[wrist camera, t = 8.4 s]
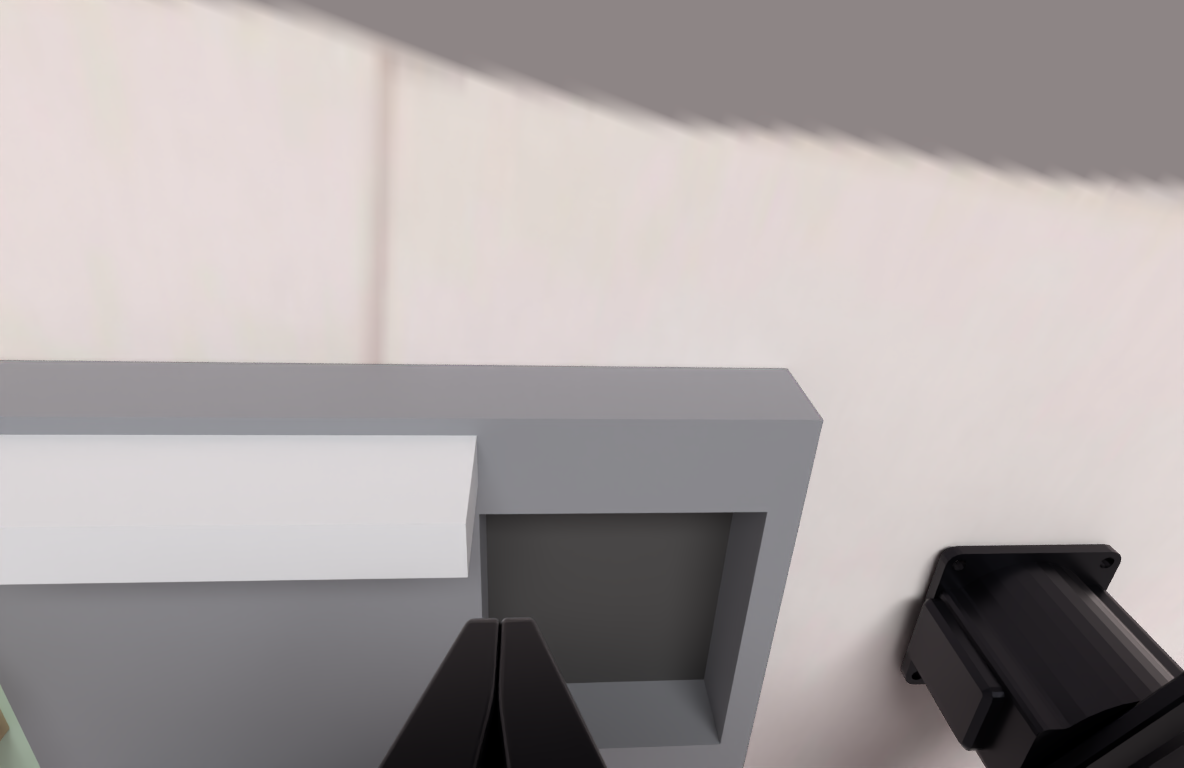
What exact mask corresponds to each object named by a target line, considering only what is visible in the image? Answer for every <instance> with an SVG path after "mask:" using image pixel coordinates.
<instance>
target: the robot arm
mask: <svg viewBox="0 0 1184 768" xmlns="http://www.w3.org/2000/svg"><path fill="white" fill-rule="evenodd" d="M957 560H958V561H957ZM955 561H956V562H955ZM1120 562H1121V556H1120V554H1119V553H1118V552H1116V551H1115V550H1114V549H1113V548H1112V547H1111V546H1110V545H1105V544H1097V545H1016V546H956V547H951V548H949V549H947V550H946V551H944V552H943V553H942V555H941V556H940V558H939V561H938V564H937V567H936V570H935V572H934V575H933V578H932V581H931V584H930V586H929V589H928V592H927V595H926V598H925V601H924V603H923V606H922V609H921V612H920V614H919V617H918V620H917V623H916V626H915V629H914V631H913V634H912V637H911V640H910V643H909V645H908V648H907V651H906V654H905V657H904V660H903V663H902V665H901V672H902V674H903V676H904V678H905V679H906V681H907V682H908V683H910V684H926V686H927V688H928V690H929V691H930V693H931V695H932V696H933V698H934V700H935V702H936V703H937V705H938V707H939V709H940V710H941V712H942V714H943V716H944V717H945V719H946V721H947V722H948V724H949V726H950V728H951V729H952V731H953V733H954V735H955V736H956V738H957V740H958V742H959V743H960V744H961V745H962V746H963V747H964V748H965V749H966V750H968V751H972V750H976V752H977V754H978V755H979V757H980V759H981V760H982V762H983V764H984V765H985V767H986V768H1184V670H1183V669H1182V668H1181V667H1180V666H1179V665H1178V664H1177V663H1176V662H1175V661H1174V660H1173V659H1172V658H1171V657H1170V656H1169V655H1168V654H1167V653H1166V652H1165V651H1164V650H1163V649H1162V648H1161V647H1160V646H1159V645H1158V644H1157V643H1156V642H1155V641H1154V640H1153V639H1152V638H1151V637H1150V636H1149V634H1148V633H1147V632H1146V631H1145V630H1144V629H1143V628H1142V627H1141V626H1140V625H1139V624H1138V623H1137V622H1136V621H1135V620H1134V619H1133V618H1132V617H1131V616H1130V615H1129V614H1128V613H1127V612H1126V611H1125V610H1124V609H1123V608H1122V607H1121V606H1120V605H1119V604H1118V603H1117V602H1116V601H1115V600H1114V599H1113V598H1112V597H1111V596H1110V594H1109V593H1108V592H1107V591H1106V590H1107V588H1108V586H1109V584H1110V582H1111V580H1112V578H1113V576H1114V574H1115V572H1116V570H1117V568H1118V566H1119V564H1120ZM377 768H608V767H607V765H606V763H605V761H604V759H603V757H602V755H601V753H600V751H599V749H598V747H597V745H596V743H595V741H594V739H593V737H592V735H591V733H590V731H589V729H588V727H587V725H586V723H585V721H584V719H583V717H582V715H581V713H580V711H579V709H578V707H577V705H576V703H575V701H574V699H573V697H572V695H571V693H570V690H569V688H568V686H567V684H566V682H565V680H564V678H563V676H562V674H561V672H560V670H559V668H558V666H557V664H556V662H555V660H554V658H553V656H552V654H551V652H550V650H549V648H548V646H547V644H546V642H545V640H544V638H543V636H542V634H541V632H540V630H539V628H538V626H537V624H536V622H535V621H534V619H532V618H531V617H513V618H504V619H503V620H502V622H501V623H500V621H499V619H497V618H472V619H470V620H468V621H467V622H466V623H465V625H464V626H463V628H462V629H461V631H460V633H459V634H458V636H457V638H456V639H455V641H454V643H453V644H452V646H451V648H450V649H449V651H448V652H447V654H446V656H445V657H444V659H443V661H442V662H441V664H440V666H439V667H438V669H437V671H436V672H435V674H434V675H433V677H432V679H431V680H430V682H429V684H428V685H427V687H426V689H425V690H424V692H423V693H422V695H421V697H420V698H419V700H418V702H417V703H416V705H415V707H414V708H413V710H412V712H411V713H410V715H409V716H408V718H407V720H406V721H405V723H404V725H403V726H402V728H401V730H400V731H399V733H398V735H397V736H396V738H395V739H394V741H393V743H392V744H391V746H390V748H389V749H388V751H387V753H386V754H385V756H384V757H383V759H382V761H381V762H380V764H379V766H378V767H377Z"/></svg>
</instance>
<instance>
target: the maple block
mask: <svg viewBox="0 0 1184 768" xmlns="http://www.w3.org/2000/svg"><path fill="white" fill-rule="evenodd" d="M9 729H10V728H9V726H8V723H7V721H6V719H5V717H4V715H3V713H2V711H1V709H0V741H1V740H2V738H3V737H4V735H5V734H6V733H7V731H8V730H9Z"/></svg>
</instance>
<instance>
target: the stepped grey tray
mask: <svg viewBox="0 0 1184 768" xmlns="http://www.w3.org/2000/svg"><path fill="white" fill-rule="evenodd" d="M822 423H823V419H822V417H821V416H820V415H819V413H818V412H817V410H816V409H815V407H814V406H813V405H812V403H811V402H810V400H809V399H808V397H807V396H806V394H805V393H804V392H803V390H802V389H801V387H800V386H799V384H798V383H797V382H796V380H795V379H794V377H793V376H792V374H791V373H790V372H789V370H788V369H785V368H690V367H594V366H499V365H404V364H308V363H213V362H118V361H22V360H0V709H1V711H2V713H3V715H4V717H5V719H6V721H7V723H8V726H9V728H10V729H9V730H8V731H7V733H6V734H5V735H4V737H3V738H2V740H1V741H0V768H377V767H378V766H379V764H380V762H381V761H382V759H383V757H384V756H385V754H386V753H387V751H388V749H389V748H390V746H391V744H392V743H393V741H394V739H395V738H396V736H397V735H398V733H399V731H400V730H401V728H402V726H403V725H404V723H405V721H406V720H407V718H408V716H409V715H410V713H411V712H412V710H413V708H414V707H415V705H416V703H417V702H418V700H419V698H420V697H421V695H422V693H423V692H424V690H425V689H426V687H427V685H428V684H429V682H430V680H431V679H432V677H433V675H434V674H435V672H436V671H437V669H438V667H439V666H440V664H441V662H442V661H443V659H444V657H445V656H446V654H447V652H448V651H449V649H450V648H451V646H452V644H453V643H454V641H455V639H456V638H457V636H458V634H459V633H460V631H461V629H462V628H463V626H464V625H465V623H466V622H467V621H468V620H470V619H472V618H497V619H499V621H500V623H501V622H502V620H503V619H504V618H513V617H531V618H532V619H534V621H535V622H536V624H537V626H538V628H539V630H540V632H541V634H542V636H543V638H544V640H545V642H546V644H547V646H548V648H549V650H550V652H551V654H552V656H553V658H554V660H555V662H556V664H557V666H558V668H559V670H560V672H561V674H562V676H563V678H564V680H565V682H566V684H567V686H568V688H569V690H570V693H571V695H572V697H573V699H574V701H575V703H576V705H577V707H578V709H579V711H580V713H581V715H582V717H583V719H584V721H585V723H586V725H587V727H588V729H589V731H590V733H591V735H592V737H593V739H594V741H595V743H596V745H597V747H598V749H599V751H600V753H601V755H602V757H603V759H604V761H605V763H606V765H607V767H608V768H743V766H744V762H745V757H746V753H747V749H748V744H749V740H750V736H751V731H752V727H753V723H754V718H755V714H756V710H757V705H758V701H759V697H760V692H761V688H762V684H763V679H764V675H765V671H766V666H767V662H768V658H769V653H770V649H771V645H772V640H773V636H774V632H775V627H776V623H777V619H778V614H779V610H780V606H781V601H782V597H783V593H784V588H785V584H786V580H787V575H788V571H789V567H790V562H791V558H792V554H793V549H794V545H795V541H796V536H797V532H798V528H799V523H800V519H801V514H802V510H803V506H804V501H805V497H806V493H807V488H808V484H809V480H810V475H811V471H812V467H813V462H814V458H815V454H816V449H817V445H818V441H819V436H820V432H821V428H822Z"/></svg>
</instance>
